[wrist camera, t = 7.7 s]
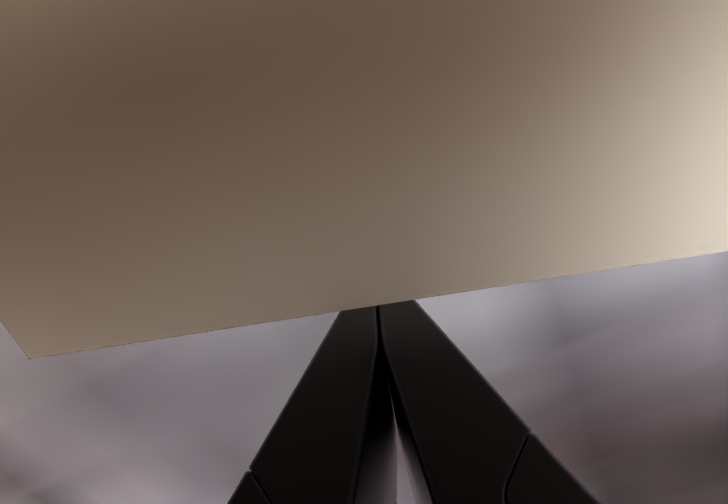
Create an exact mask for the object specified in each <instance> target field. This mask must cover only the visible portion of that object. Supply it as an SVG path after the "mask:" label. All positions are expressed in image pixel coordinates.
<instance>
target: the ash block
mask: <svg viewBox="0 0 728 504" xmlns="http://www.w3.org/2000/svg"><path fill="white" fill-rule="evenodd" d="M724 251H728V0H0V320H1V322H2V323H3V324H4V326H5V327H6V329H7V330H8V331H9V333H10V334H11V335H12V337H13V338H14V339H15V341H16V342H17V343H18V345H19V346H20V347H21V349H22V350H23V351H24V353H25V354H26V356H27V357H28V358H29V359H34V358H40V357H46V356H53V355H59V354H66V353H72V352H79V351H85V350H92V349H98V348H105V347H111V346H118V345H124V344H130V343H137V342H143V341H150V340H156V339H163V338H169V337H176V336H182V335H189V334H195V333H201V332H208V331H214V330H221V329H227V328H234V327H240V326H247V325H253V324H260V323H266V322H272V321H279V320H285V319H292V318H298V317H305V316H311V315H318V314H324V313H331V312H337V311H343V310H350V309H356V308H363V307H369V306H376V305H382V304H389V303H395V302H402V301H408V300H414V299H421V298H427V297H434V296H440V295H447V294H453V293H460V292H466V291H473V290H479V289H485V288H492V287H498V286H505V285H511V284H518V283H524V282H531V281H537V280H544V279H550V278H557V277H563V276H569V275H576V274H582V273H589V272H595V271H602V270H608V269H615V268H621V267H628V266H634V265H640V264H647V263H653V262H660V261H666V260H673V259H679V258H686V257H692V256H699V255H705V254H711V253H718V252H724Z"/></svg>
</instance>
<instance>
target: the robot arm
mask: <svg viewBox="0 0 728 504" xmlns="http://www.w3.org/2000/svg"><path fill="white" fill-rule="evenodd" d="M393 408H394V409H393ZM394 413H395V417H394ZM395 418H396V424H397V429H398V434H399V438H400V443H401V447H402V451H403V455H404V459H405V463H406V466H407V470H408V474H409V478H410V482H411V486H412V490H413V493H414V497H415V501H416V504H602V503H601V502H599V501H598V500H597V499H596V498H595V497H594V496H593V495H592V494H591V493H590V492H589V491H588V490H587V489H586V488H585V487H584V486H583V485H582V484H581V483H580V482H579V481H578V480H577V479H576V478H575V477H574V476H573V475H572V473H571V472H570V471H569V470H568V469H567V468H566V467H565V466H564V465H563V464H562V463H561V462H560V461H559V460H558V459H557V458H556V457H555V456H554V454H553V453H552V452H551V451H550V450H549V449H548V448H547V447H546V446H545V444H544V443H543V442H542V441H541V440H540V439H539V438H538V437H537V435H535V434H531V429H530V428H529V427H528V426H527V425H526V424H525V422H524V421H523V420H522V419H521V418H520V417H519V416H518V415H517V414H516V412H515V411H514V410H513V409H512V408H511V407H510V406H509V405H508V403H507V402H506V401H505V400H504V399H503V398H502V397H501V396H500V395H499V393H498V392H497V391H496V390H495V389H494V388H493V387H492V386H491V384H490V383H489V382H488V381H487V380H486V379H485V378H484V377H483V376H482V374H481V373H480V372H479V371H478V370H477V369H476V368H475V367H474V365H473V364H472V363H471V362H470V361H469V360H468V359H467V358H466V357H465V355H464V354H463V353H462V352H461V351H460V350H459V349H458V348H457V346H456V345H455V344H454V343H453V342H452V341H451V340H450V339H449V338H448V336H447V335H446V334H445V333H444V332H443V331H442V330H441V329H440V327H439V326H438V325H437V324H436V323H435V322H434V321H433V320H432V319H431V317H430V316H429V315H428V314H427V313H426V312H425V311H424V310H423V308H422V307H421V306H420V305H419V304H418V303H417V302H416V301H415V300H408V301H402V302H395V303H389V304H382V305H376V306H369V307H363V308H356V309H350V310H343V311H340V312H339V314H338V316H337V318H336V319H335V321H334V323H333V324H332V326H331V328H330V330H329V331H328V333H327V335H326V336H325V338H324V340H323V341H322V343H321V345H320V347H319V348H318V350H317V352H316V353H315V355H314V357H313V359H312V360H311V362H310V364H309V365H308V367H307V369H306V371H305V372H304V374H303V376H302V377H301V379H300V381H299V383H298V384H297V386H296V388H295V389H294V391H293V393H292V394H291V396H290V398H289V400H288V401H287V403H286V405H285V406H284V408H283V410H282V412H281V413H280V415H279V417H278V418H277V420H276V422H275V424H274V425H273V427H272V429H271V430H270V432H269V434H268V436H267V437H266V439H265V441H264V442H263V444H262V446H261V447H260V449H259V451H258V453H257V454H256V456H255V458H254V459H253V461H252V463H251V465H250V466H249V470H250V471H247V472H246V473H245V474H244V476H243V478H242V479H241V481H240V483H239V485H238V486H237V488H236V490H235V491H234V493H233V495H232V497H231V498H230V500H229V501H228V503H227V504H397V447H396V427H395Z"/></svg>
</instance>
